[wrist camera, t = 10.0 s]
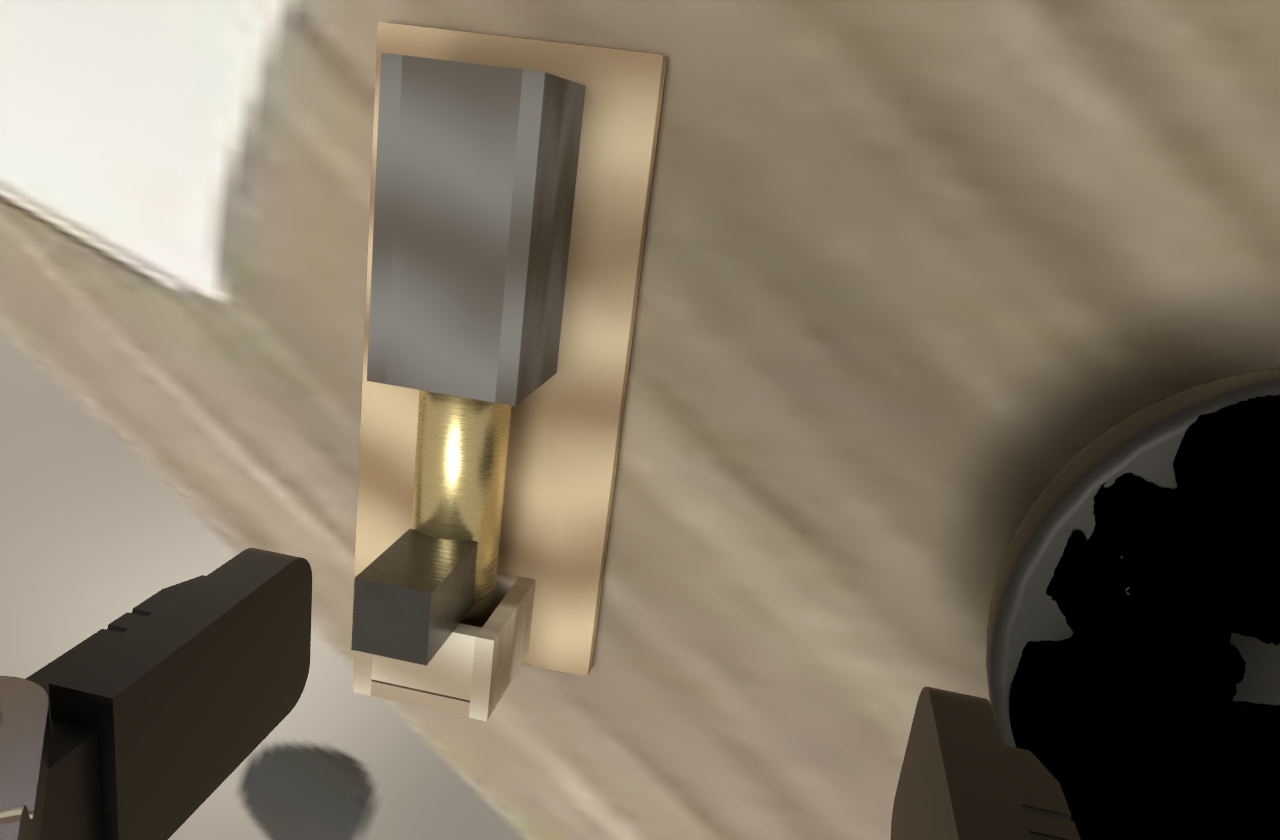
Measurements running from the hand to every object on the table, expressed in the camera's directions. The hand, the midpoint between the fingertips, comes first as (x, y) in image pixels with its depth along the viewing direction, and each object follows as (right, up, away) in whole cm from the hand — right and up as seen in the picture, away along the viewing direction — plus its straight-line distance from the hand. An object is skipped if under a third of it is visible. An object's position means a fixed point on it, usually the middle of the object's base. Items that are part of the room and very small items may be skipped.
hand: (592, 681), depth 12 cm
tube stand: (-6, +6, +31) cm, 32 cm away
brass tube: (-7, +1, +30) cm, 31 cm away
